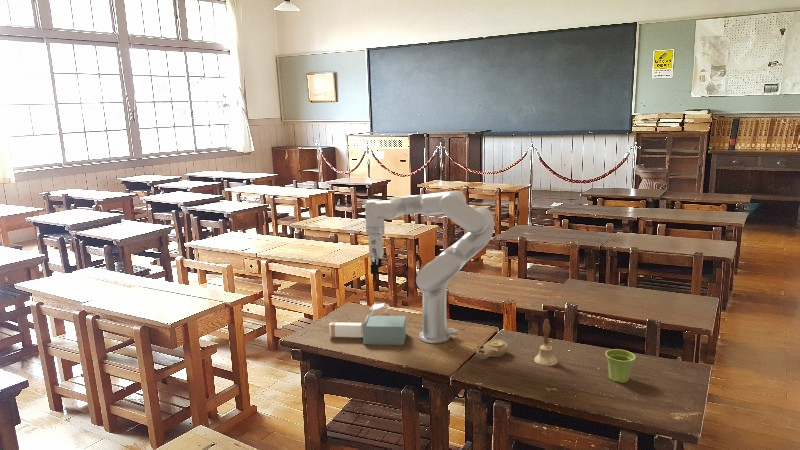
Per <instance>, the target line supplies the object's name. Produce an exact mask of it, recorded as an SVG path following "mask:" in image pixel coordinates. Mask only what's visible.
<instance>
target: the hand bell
mask: <svg viewBox="0 0 800 450" xmlns="http://www.w3.org/2000/svg"><path fill="white" fill-rule="evenodd" d="M542 331H543V336H544V337H543V344H542V345H540V346H539V349H538V350H539V351H538V354H537V355H536V356H535V357H534V359H533V361H534V362H535V363H536V364H537V365H541V366H544V367H546V366H547V367H550V366H551V367H553V366H555V365H557V364H558V359H557V358H556V356H555V355H554V350H553V347H552V346H551V345H550V343H549V339H550V337H549V335H550V333H551V325H550V321H549V319H548V318H546V319H544V322H543V324H542Z"/></svg>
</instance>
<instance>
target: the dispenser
mask: <svg viewBox="0 0 800 450" xmlns="http://www.w3.org/2000/svg"><path fill="white" fill-rule="evenodd" d="M406 318H407V317H406V315H384V316H383V315H371V316H370V313H369V314H367V315H366V317H365V319H364V321H363V323H362V339H363V340H362V342H363V345H388V346H389V345H390V346H392V345H393V346H394V345H395V346H404V344H405V340H406V334H407V331H406V330H407V329H406V328H407V327H406V325H407V324H406V320H407V319H406Z"/></svg>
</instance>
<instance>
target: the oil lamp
mask: <svg viewBox="0 0 800 450" xmlns="http://www.w3.org/2000/svg"><path fill="white" fill-rule="evenodd" d="M508 350H509V345H508V343H507V342H505V341H504V340H501V339H495V338H494V339H490V340H489V341H487V342H486V343H485V344H482V348H476V351H475V355H476V356H477V357H478V358H480V359H488V358H489V357H492V358H499V357H502V356H503V355H504V354H506V353H507V352H508Z"/></svg>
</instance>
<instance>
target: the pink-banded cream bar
mask: <svg viewBox="0 0 800 450" xmlns="http://www.w3.org/2000/svg"><path fill="white" fill-rule="evenodd" d="M328 331H329V338H363V322H336V321H332V322H330V323H329V324H328Z"/></svg>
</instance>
